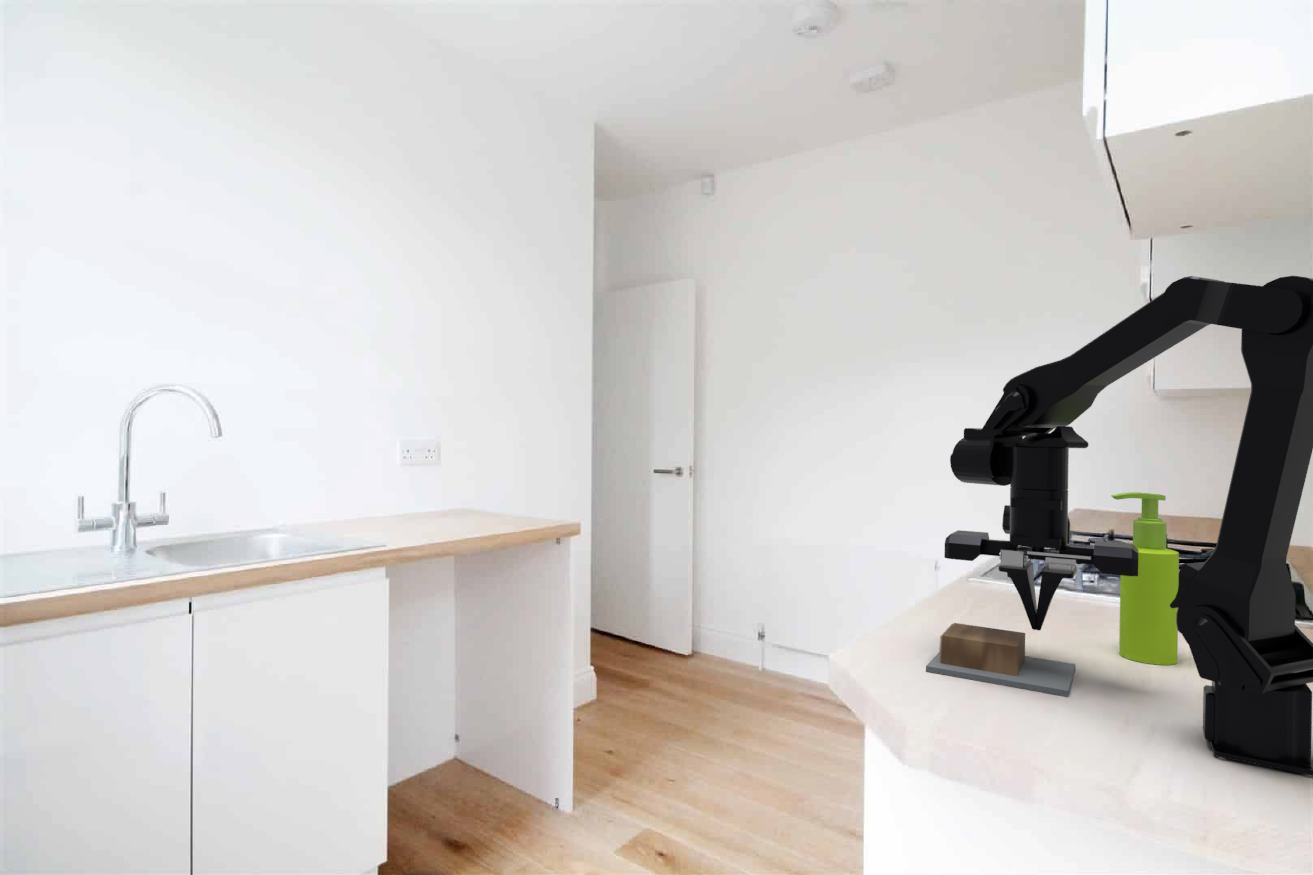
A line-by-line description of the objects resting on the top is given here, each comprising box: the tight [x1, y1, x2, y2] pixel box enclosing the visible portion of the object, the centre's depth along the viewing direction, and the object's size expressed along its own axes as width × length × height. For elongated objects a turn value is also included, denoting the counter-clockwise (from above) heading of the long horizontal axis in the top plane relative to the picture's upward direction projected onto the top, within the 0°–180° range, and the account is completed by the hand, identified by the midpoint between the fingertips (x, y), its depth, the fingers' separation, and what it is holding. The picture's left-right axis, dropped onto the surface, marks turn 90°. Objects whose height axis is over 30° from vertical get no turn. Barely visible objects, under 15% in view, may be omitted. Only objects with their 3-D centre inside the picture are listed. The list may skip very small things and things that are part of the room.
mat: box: [925, 651, 1076, 698], centre depth 84 cm, size 14×11×1 cm
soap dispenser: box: [1110, 491, 1180, 666], centre depth 90 cm, size 6×7×20 cm
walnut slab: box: [939, 622, 1026, 676], centre depth 85 cm, size 3×7×8 cm
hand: (1036, 629), depth 82 cm, fingers closed
